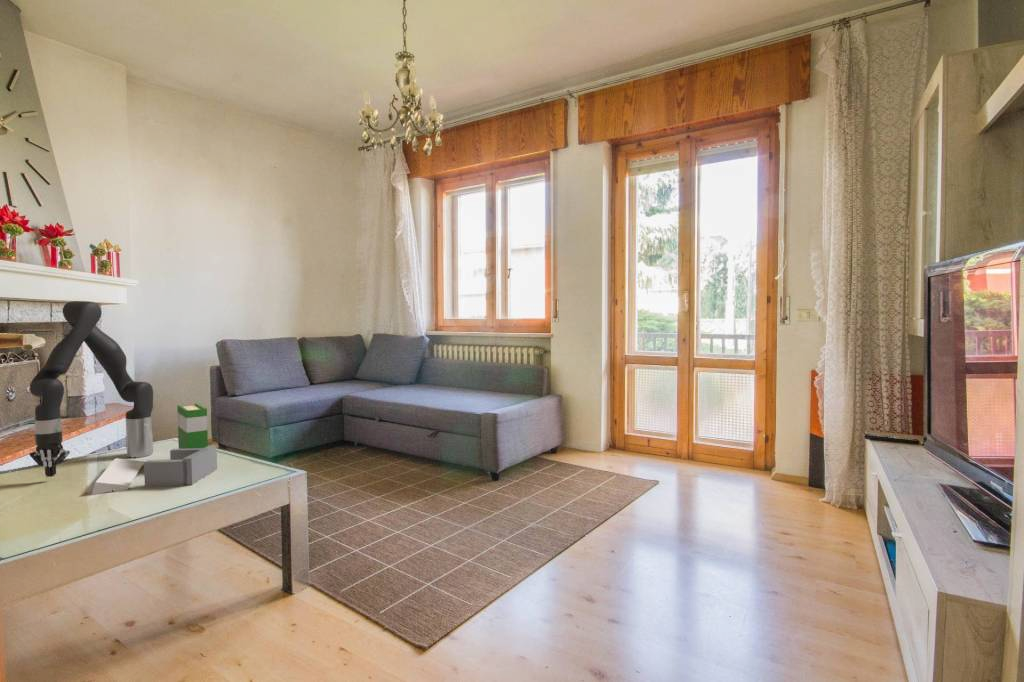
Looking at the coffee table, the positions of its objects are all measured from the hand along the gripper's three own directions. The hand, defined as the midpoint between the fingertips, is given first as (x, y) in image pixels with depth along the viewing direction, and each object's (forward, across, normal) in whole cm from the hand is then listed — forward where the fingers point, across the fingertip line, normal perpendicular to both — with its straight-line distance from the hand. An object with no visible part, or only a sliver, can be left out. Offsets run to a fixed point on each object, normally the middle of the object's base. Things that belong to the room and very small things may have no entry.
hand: (50, 476), depth 191 cm
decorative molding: (+3, -24, -1) cm, 24 cm away
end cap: (+2, -47, 0) cm, 47 cm away
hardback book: (+2, -41, -21) cm, 46 cm away
